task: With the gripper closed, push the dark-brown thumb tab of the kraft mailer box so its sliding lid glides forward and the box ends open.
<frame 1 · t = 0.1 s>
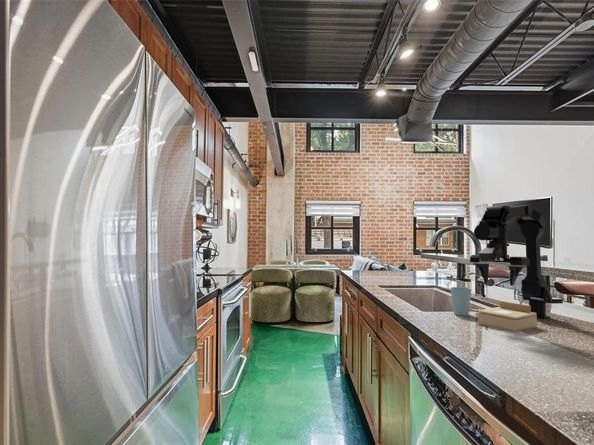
hand: (498, 284, 127), 15 cm above the counter, fingers open, 9 cm apart
lid: (506, 309, 126), point 6 cm above the counter, slide at 0.0 cm
mailer box: (506, 325, 126), on the counter
cup: (461, 314, 144), on the counter
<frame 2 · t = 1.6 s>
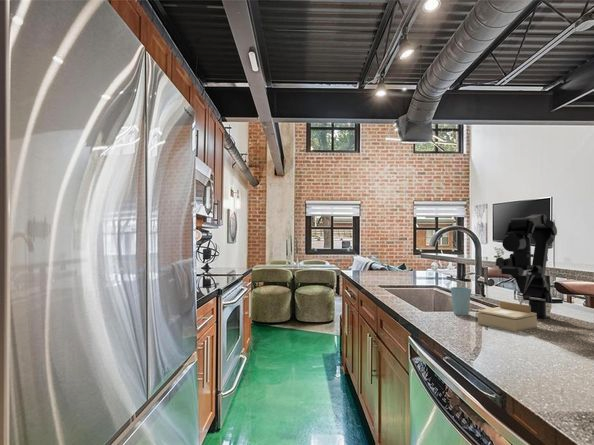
hand: (522, 293, 132), 11 cm above the counter, fingers closed
nothing on the counter moved.
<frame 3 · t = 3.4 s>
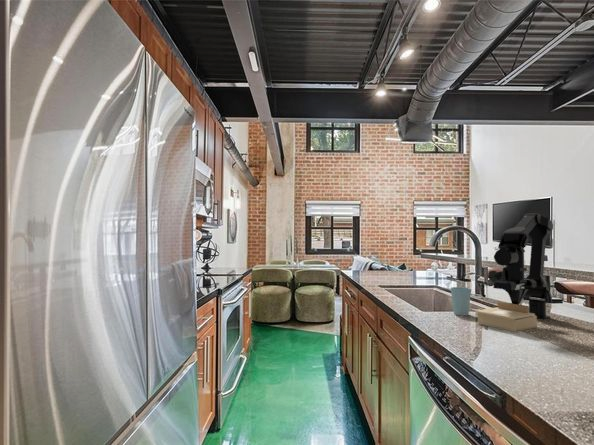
hand: (515, 307, 129), 6 cm above the counter, fingers closed
lid: (504, 309, 125), point 6 cm above the counter, slide at 1.4 cm, touching gripper
everything else where it was.
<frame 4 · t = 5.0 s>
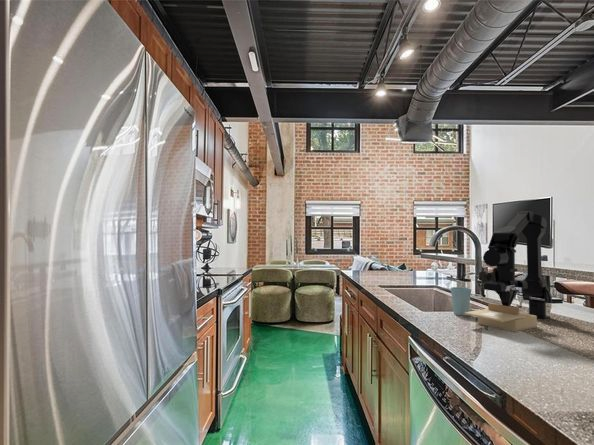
hand: (506, 309, 126), 6 cm above the counter, fingers closed
lid: (494, 311, 122), point 6 cm above the counter, slide at 7.8 cm, touching gripper
everything else where it was.
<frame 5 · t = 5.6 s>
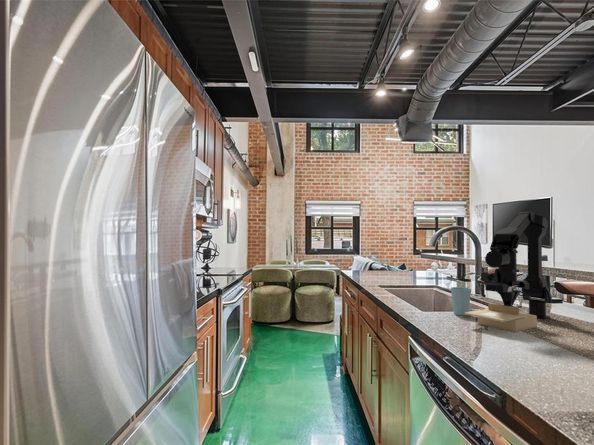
hand: (508, 310, 126), 5 cm above the counter, fingers closed
lid: (494, 311, 122), point 6 cm above the counter, slide at 7.8 cm
everything else where it was.
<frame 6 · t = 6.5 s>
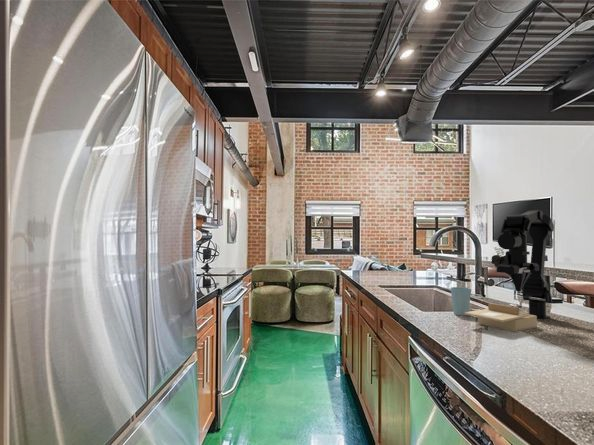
hand: (518, 291, 130), 12 cm above the counter, fingers closed
nothing on the counter moved.
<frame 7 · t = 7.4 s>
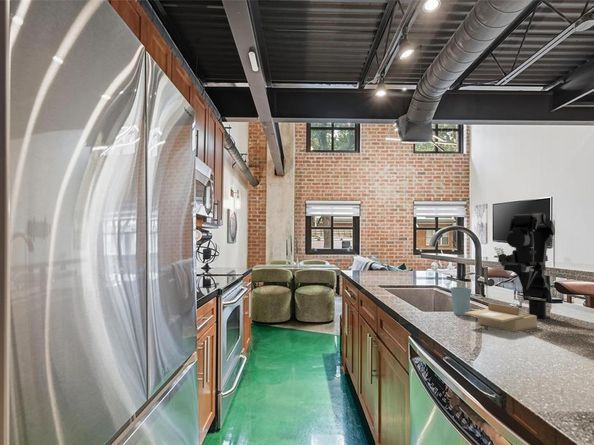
hand: (525, 289, 131), 12 cm above the counter, fingers closed
nothing on the counter moved.
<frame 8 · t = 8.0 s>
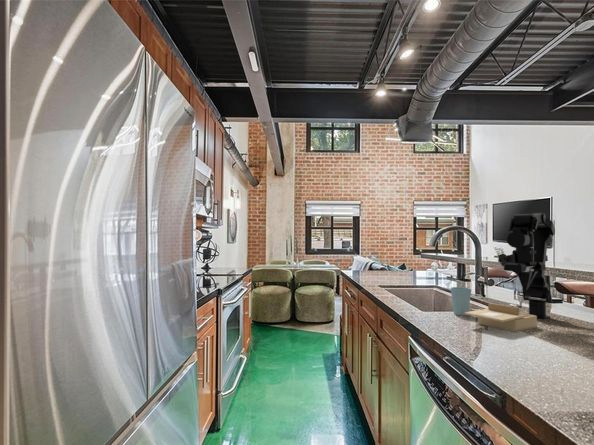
hand: (525, 289, 131), 12 cm above the counter, fingers closed
nothing on the counter moved.
at the end: lid slide at 7.8 cm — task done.
